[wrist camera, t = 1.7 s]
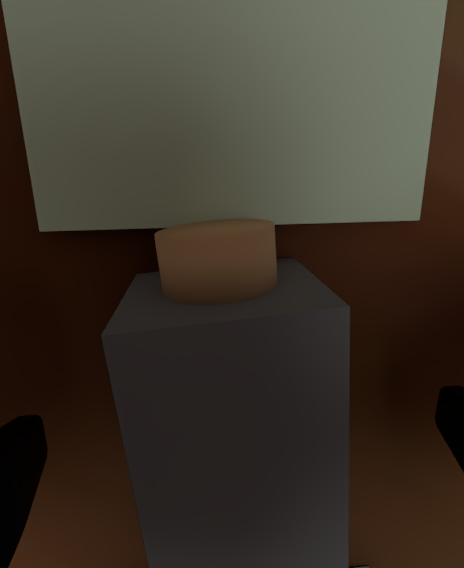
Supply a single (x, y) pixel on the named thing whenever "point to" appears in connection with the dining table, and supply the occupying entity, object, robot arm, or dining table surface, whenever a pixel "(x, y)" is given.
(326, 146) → the mat
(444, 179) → the dining table surface
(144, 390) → the grey tall block
